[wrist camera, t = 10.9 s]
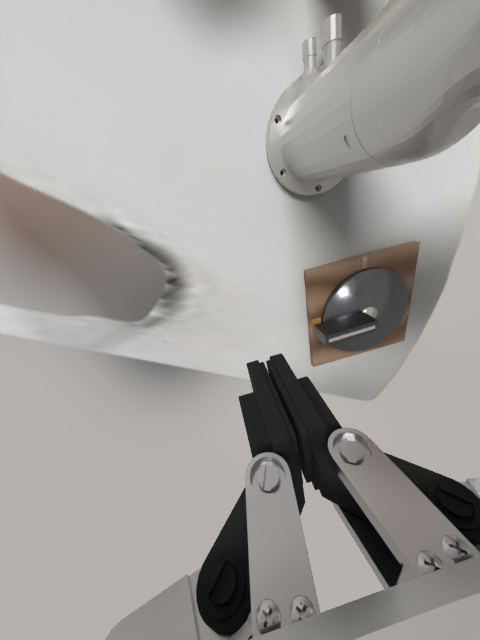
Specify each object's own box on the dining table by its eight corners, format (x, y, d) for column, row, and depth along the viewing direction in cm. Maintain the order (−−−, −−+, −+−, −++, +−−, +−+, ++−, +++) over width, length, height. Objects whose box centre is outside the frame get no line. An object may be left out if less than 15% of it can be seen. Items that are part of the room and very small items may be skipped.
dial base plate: (303, 270, 38) (307, 272, 37) (414, 241, 39) (421, 242, 38) (311, 363, 47) (314, 367, 46) (400, 337, 48) (405, 341, 47)
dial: (314, 360, 45) (328, 378, 40) (307, 285, 38) (323, 296, 33) (398, 334, 46) (421, 349, 41) (407, 256, 39) (437, 263, 34)
